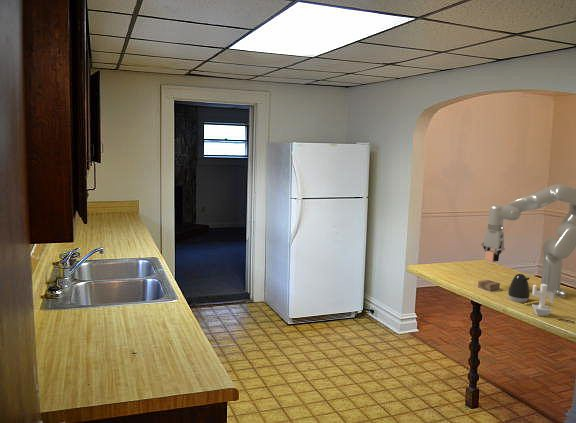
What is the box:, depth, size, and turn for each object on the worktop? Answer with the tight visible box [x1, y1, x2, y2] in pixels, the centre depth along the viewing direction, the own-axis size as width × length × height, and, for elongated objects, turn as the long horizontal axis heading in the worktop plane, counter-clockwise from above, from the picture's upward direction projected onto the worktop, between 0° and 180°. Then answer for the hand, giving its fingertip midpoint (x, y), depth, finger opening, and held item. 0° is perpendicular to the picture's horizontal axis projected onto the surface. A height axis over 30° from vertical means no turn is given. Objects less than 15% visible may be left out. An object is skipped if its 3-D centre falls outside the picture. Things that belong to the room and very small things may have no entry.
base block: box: [477, 279, 501, 293], centre depth 281 cm, size 8×8×4 cm
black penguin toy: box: [507, 273, 531, 304], centre depth 261 cm, size 10×10×15 cm
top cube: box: [484, 250, 496, 263], centre depth 279 cm, size 5×5×5 cm
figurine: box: [531, 283, 555, 317], centre depth 242 cm, size 7×9×15 cm
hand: (491, 259), depth 280 cm, fingers closed on top cube, 4 cm apart
